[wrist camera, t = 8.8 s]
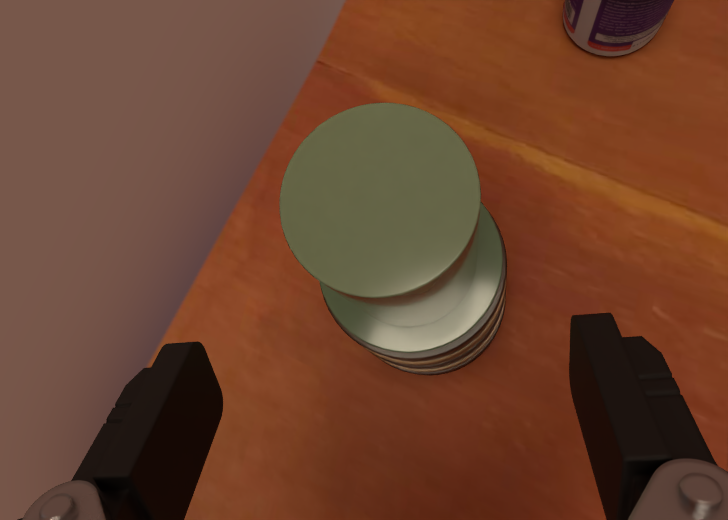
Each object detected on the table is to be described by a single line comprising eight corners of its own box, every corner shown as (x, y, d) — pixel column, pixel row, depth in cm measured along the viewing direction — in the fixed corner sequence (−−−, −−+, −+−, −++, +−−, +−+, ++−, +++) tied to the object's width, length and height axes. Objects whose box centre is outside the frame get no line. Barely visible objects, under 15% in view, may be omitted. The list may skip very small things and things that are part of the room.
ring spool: (375, 387, 22) (319, 388, 14) (294, 234, 24) (203, 155, 16) (537, 297, 22) (577, 243, 14) (443, 148, 24) (429, 22, 15)
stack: (399, 402, 32) (368, 410, 22) (330, 273, 34) (274, 229, 24) (532, 328, 31) (560, 302, 22) (454, 202, 33) (448, 128, 24)
